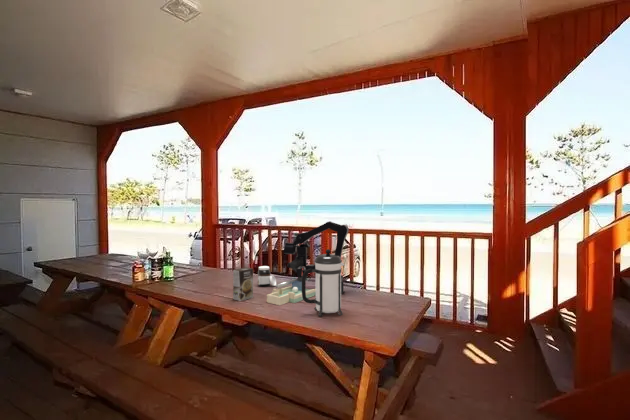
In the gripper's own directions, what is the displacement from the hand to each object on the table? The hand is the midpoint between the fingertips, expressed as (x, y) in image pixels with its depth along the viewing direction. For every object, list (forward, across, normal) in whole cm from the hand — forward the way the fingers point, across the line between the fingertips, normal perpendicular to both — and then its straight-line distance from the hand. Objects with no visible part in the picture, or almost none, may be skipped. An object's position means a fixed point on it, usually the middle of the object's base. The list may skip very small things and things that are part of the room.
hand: (301, 280), depth 194 cm
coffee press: (+6, +35, -24) cm, 43 cm away
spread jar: (+6, -26, -4) cm, 26 cm away
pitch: (+6, +5, -15) cm, 17 cm away
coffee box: (+6, -15, -32) cm, 36 cm away
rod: (+3, +3, -9) cm, 10 cm away
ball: (+4, +5, -11) cm, 13 cm away
